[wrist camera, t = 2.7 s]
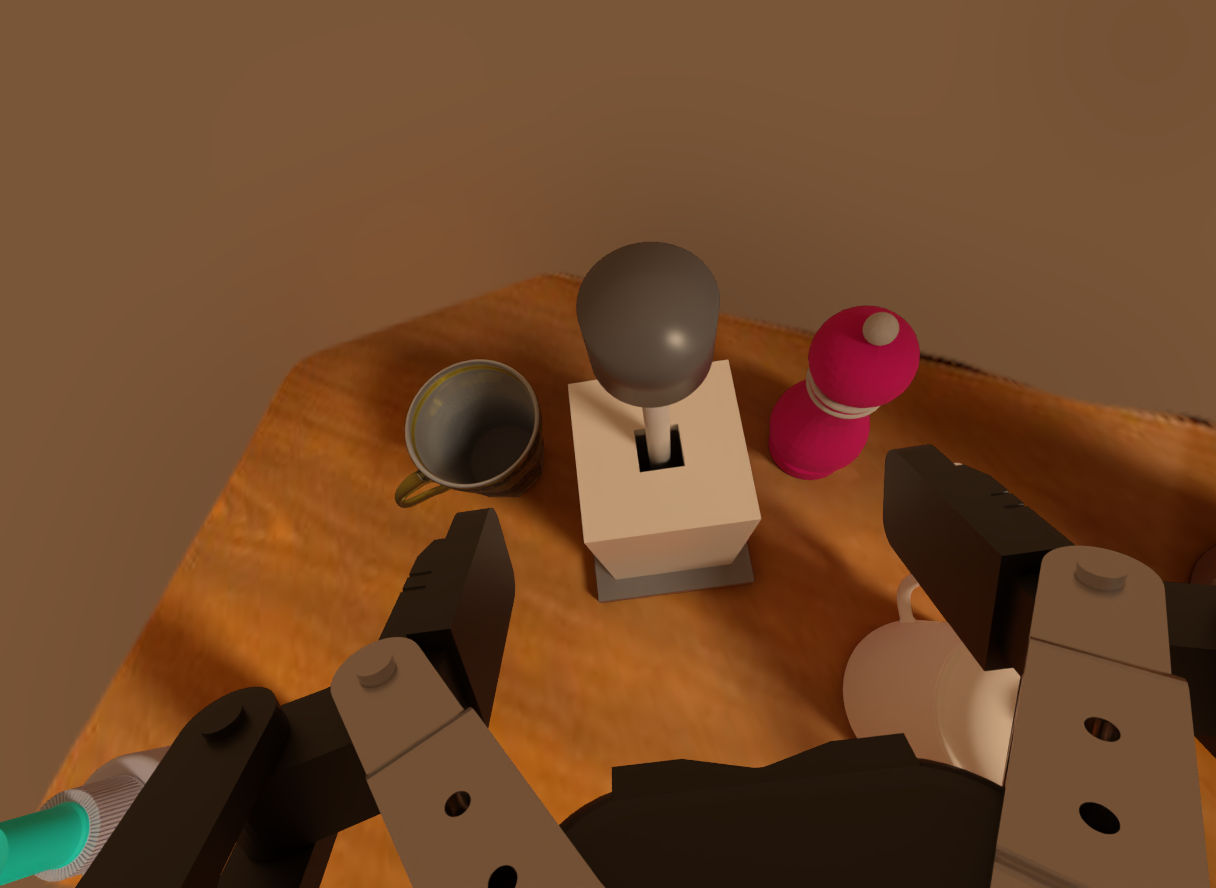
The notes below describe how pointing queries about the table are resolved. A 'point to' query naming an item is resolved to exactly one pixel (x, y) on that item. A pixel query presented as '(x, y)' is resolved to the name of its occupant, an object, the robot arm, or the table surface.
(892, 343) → the pepper mill
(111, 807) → the spray bottle
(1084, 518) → the table surface
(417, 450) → the ceramic cup
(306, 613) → the table surface
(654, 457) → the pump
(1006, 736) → the coffeepot
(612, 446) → the dispenser
